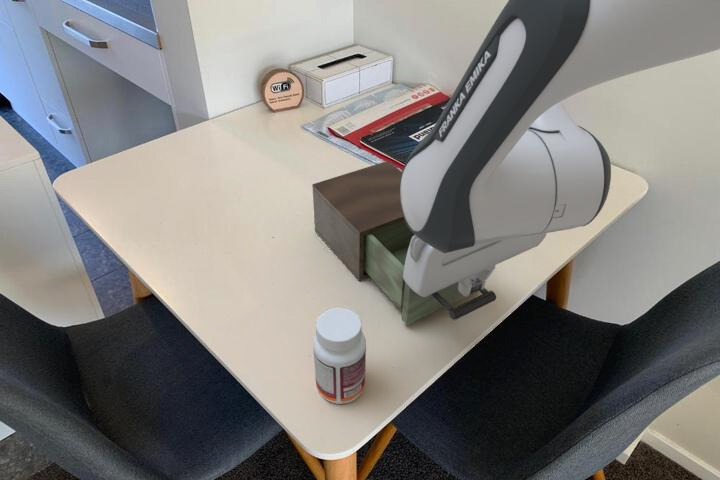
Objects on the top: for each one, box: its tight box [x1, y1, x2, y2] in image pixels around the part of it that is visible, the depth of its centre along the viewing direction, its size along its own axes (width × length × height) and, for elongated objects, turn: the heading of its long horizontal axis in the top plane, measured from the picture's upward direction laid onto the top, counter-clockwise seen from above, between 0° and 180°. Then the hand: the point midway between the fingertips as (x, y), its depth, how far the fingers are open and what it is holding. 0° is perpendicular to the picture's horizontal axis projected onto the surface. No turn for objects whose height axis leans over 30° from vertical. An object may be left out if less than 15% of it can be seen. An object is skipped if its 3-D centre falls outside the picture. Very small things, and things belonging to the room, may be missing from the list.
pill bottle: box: [312, 306, 367, 405], centre depth 62 cm, size 6×6×11 cm
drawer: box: [364, 220, 497, 326], centre depth 75 cm, size 19×13×8 cm
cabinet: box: [311, 160, 404, 282], centre depth 85 cm, size 15×15×10 cm
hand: (470, 290), depth 68 cm, fingers closed
